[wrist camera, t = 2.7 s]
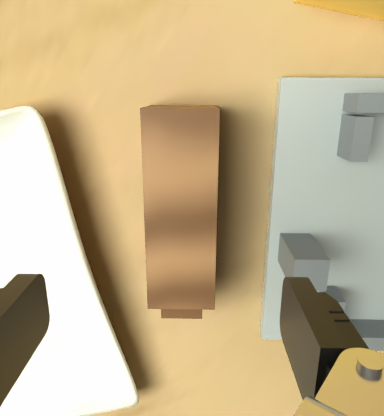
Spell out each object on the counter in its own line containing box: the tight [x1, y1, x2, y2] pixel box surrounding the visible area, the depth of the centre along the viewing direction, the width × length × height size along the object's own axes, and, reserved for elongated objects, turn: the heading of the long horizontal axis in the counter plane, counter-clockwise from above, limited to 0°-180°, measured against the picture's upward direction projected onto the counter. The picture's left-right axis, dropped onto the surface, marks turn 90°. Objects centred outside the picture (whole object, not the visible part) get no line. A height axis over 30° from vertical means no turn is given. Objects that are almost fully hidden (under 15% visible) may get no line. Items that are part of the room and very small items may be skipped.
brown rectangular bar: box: [140, 105, 220, 319], centre depth 28 cm, size 16×5×5 cm, turn 0°
